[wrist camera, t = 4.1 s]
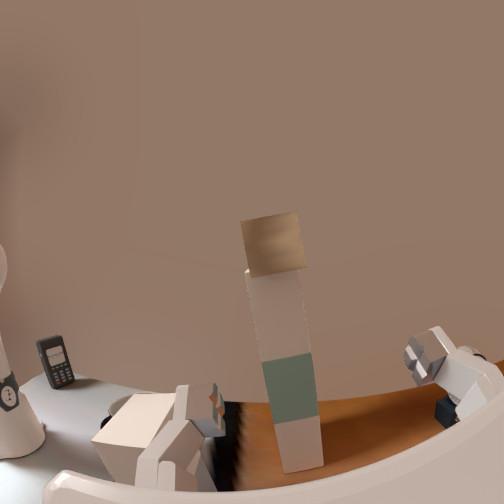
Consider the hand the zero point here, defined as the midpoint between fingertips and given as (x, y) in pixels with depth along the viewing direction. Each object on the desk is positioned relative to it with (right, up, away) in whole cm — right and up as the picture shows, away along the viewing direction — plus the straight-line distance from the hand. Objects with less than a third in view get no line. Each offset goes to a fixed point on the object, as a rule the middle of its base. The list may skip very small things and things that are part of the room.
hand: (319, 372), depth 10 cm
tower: (+4, -23, +20) cm, 30 cm away
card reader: (-59, -35, +48) cm, 84 cm away
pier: (-9, -25, +8) cm, 27 cm away
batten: (-1, +3, +18) cm, 18 cm away
